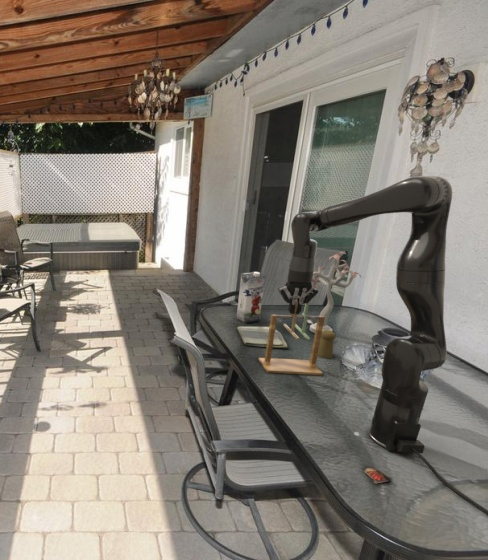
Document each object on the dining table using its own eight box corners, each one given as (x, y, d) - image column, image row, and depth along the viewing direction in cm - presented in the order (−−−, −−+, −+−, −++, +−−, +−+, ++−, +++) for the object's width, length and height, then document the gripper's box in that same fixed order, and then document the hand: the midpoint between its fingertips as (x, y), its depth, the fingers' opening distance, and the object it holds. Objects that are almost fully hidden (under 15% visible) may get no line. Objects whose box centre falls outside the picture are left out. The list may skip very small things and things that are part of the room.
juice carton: (233, 318, 190) (239, 270, 182) (249, 315, 193) (255, 268, 185) (245, 324, 182) (252, 274, 174) (262, 321, 185) (268, 272, 177)
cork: (335, 358, 147) (340, 335, 144) (319, 357, 149) (324, 334, 145) (328, 351, 153) (333, 328, 150) (313, 350, 154) (317, 327, 151)
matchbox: (392, 479, 90) (392, 478, 90) (380, 486, 88) (380, 485, 88) (371, 466, 94) (371, 465, 94) (359, 473, 92) (359, 471, 92)
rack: (322, 375, 136) (333, 321, 129) (267, 372, 139) (275, 320, 132) (309, 362, 145) (319, 311, 139) (258, 359, 148) (265, 310, 142)
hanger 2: (310, 340, 132) (316, 308, 128) (307, 339, 132) (313, 308, 128) (295, 325, 143) (301, 296, 139) (293, 325, 143) (298, 296, 139)
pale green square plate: (244, 346, 160) (244, 339, 159) (236, 329, 176) (237, 323, 176) (289, 349, 156) (290, 343, 155) (277, 332, 172) (278, 326, 171)
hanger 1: (299, 339, 127) (305, 307, 123) (296, 339, 127) (302, 307, 123) (285, 325, 138) (290, 295, 134) (282, 325, 138) (287, 295, 134)
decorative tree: (280, 318, 188) (291, 245, 177) (326, 319, 186) (341, 244, 174) (307, 342, 162) (323, 258, 150) (362, 343, 160) (382, 257, 148)
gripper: (285, 270, 123) (278, 316, 128) (327, 271, 121) (319, 317, 126) (276, 265, 130) (270, 309, 135) (316, 265, 128) (308, 310, 133)
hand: (294, 313), depth 130 cm, fingers closed on hanger 1, 1 cm apart
